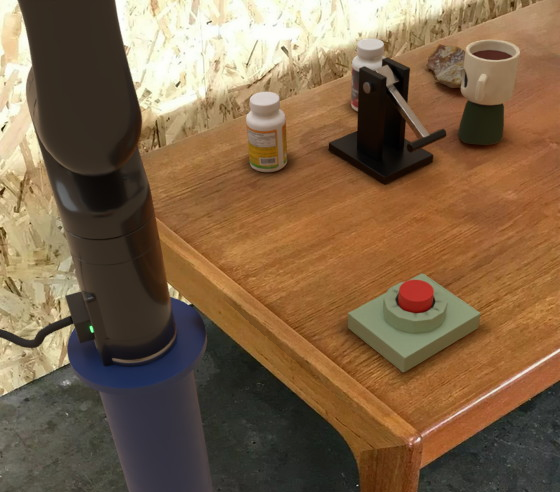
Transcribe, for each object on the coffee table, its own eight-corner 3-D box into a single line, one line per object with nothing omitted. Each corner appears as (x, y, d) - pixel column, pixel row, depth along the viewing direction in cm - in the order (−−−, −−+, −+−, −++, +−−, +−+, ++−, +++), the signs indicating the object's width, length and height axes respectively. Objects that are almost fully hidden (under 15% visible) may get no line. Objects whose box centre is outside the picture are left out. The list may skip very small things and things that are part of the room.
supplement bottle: (269, 149, 115) (266, 84, 108) (295, 162, 112) (293, 97, 105) (241, 163, 112) (236, 98, 106) (267, 177, 110) (263, 111, 103)
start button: (414, 318, 82) (415, 306, 81) (391, 301, 85) (391, 288, 83) (439, 304, 84) (441, 291, 83) (415, 287, 86) (417, 275, 85)
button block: (403, 373, 82) (406, 345, 79) (347, 327, 87) (348, 300, 84) (478, 328, 86) (483, 300, 83) (420, 287, 92) (423, 259, 89)
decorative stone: (463, 72, 118) (408, 48, 129) (462, 101, 121) (408, 75, 132) (516, 57, 121) (457, 35, 132) (513, 85, 124) (456, 61, 135)
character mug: (465, 117, 119) (476, 30, 110) (512, 125, 117) (528, 37, 108) (444, 153, 112) (455, 63, 103) (494, 162, 110) (510, 70, 101)
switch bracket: (432, 162, 111) (442, 73, 102) (384, 184, 107) (389, 94, 98) (375, 129, 118) (379, 43, 109) (328, 150, 114) (328, 62, 105)
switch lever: (442, 142, 105) (450, 130, 103) (408, 157, 103) (416, 146, 101) (391, 72, 107) (398, 60, 105) (357, 86, 105) (363, 73, 103)
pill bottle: (344, 102, 124) (346, 40, 117) (375, 95, 125) (378, 33, 118) (360, 117, 120) (362, 54, 113) (391, 110, 122) (395, 46, 115)
